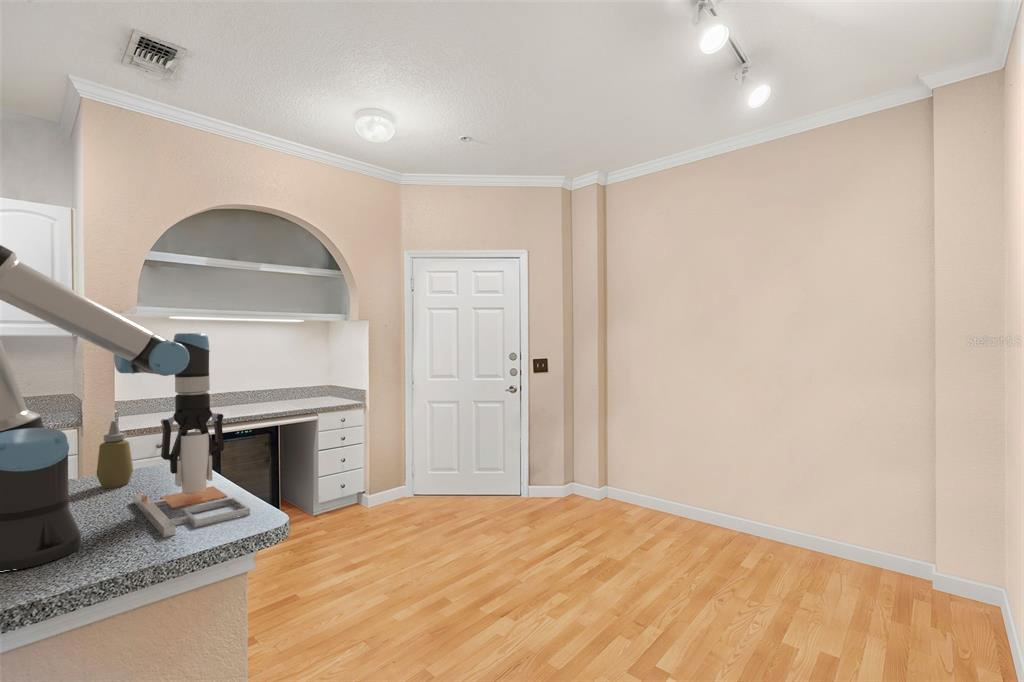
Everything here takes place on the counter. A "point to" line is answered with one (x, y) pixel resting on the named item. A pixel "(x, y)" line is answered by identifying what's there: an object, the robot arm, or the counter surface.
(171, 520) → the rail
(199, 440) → the drinking glass
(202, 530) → the counter surface
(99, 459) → the squeeze bottle
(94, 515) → the counter surface
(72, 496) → the counter surface
